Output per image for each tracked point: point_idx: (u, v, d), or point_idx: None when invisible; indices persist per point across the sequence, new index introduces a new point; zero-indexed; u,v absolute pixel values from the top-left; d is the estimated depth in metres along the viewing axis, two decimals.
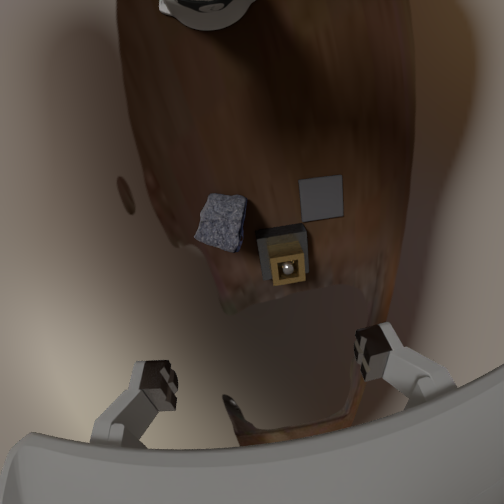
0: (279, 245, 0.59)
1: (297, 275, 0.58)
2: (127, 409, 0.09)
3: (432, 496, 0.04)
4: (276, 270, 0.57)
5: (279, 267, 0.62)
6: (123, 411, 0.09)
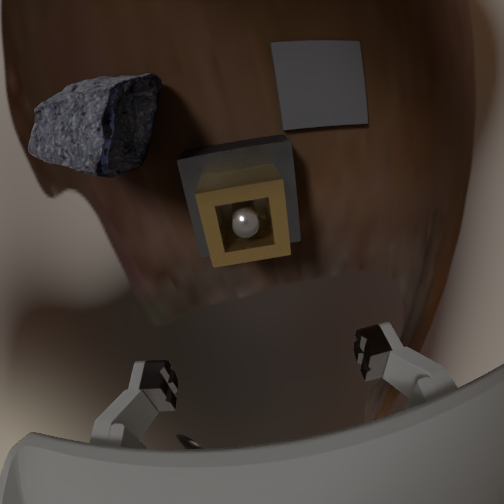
0: (228, 172, 0.25)
1: (270, 241, 0.24)
2: (127, 409, 0.09)
3: (432, 496, 0.04)
4: (215, 226, 0.22)
5: (232, 227, 0.27)
6: (123, 411, 0.09)
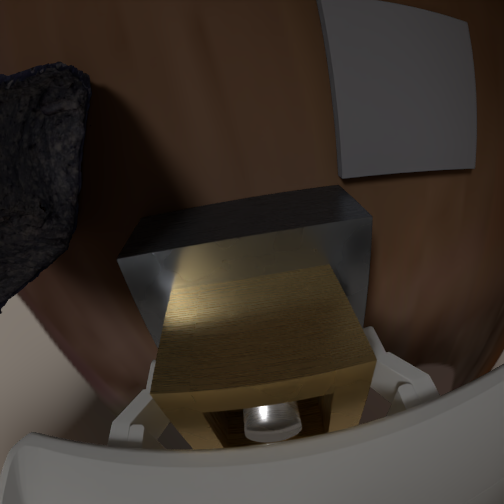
0: (230, 291, 0.11)
1: (318, 432, 0.10)
2: (146, 409, 0.09)
3: (432, 496, 0.04)
4: (206, 434, 0.09)
5: None
6: (142, 411, 0.09)
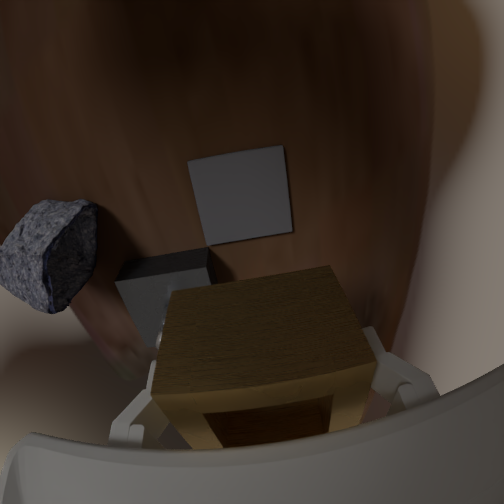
0: (230, 292, 0.11)
1: (318, 432, 0.10)
2: (146, 409, 0.09)
3: (432, 496, 0.04)
4: (206, 434, 0.09)
5: None
6: (142, 411, 0.09)
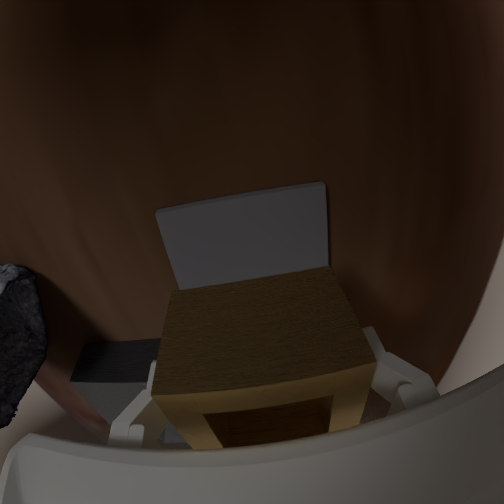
0: (230, 293, 0.11)
1: (318, 432, 0.10)
2: (146, 409, 0.09)
3: (432, 496, 0.04)
4: (206, 435, 0.09)
5: None
6: (142, 411, 0.09)
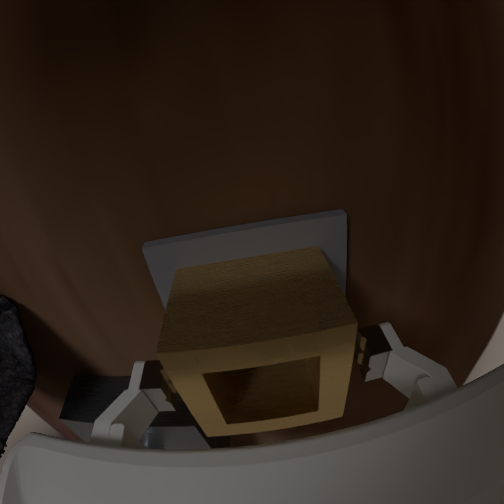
0: (228, 269, 0.12)
1: (310, 402, 0.12)
2: (127, 409, 0.09)
3: (432, 496, 0.04)
4: (205, 398, 0.10)
5: None
6: (123, 411, 0.09)
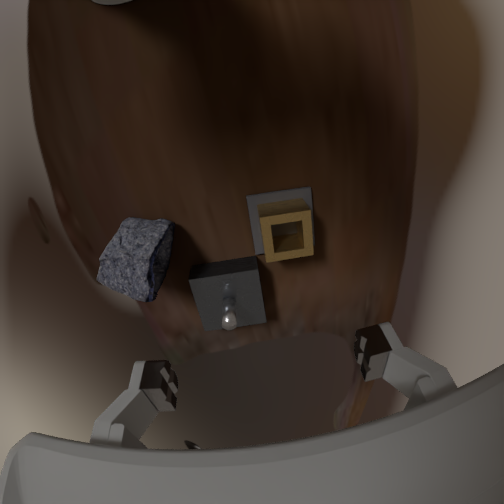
0: (274, 203, 0.40)
1: (301, 246, 0.39)
2: (127, 409, 0.09)
3: (432, 496, 0.04)
4: (269, 237, 0.38)
5: (275, 238, 0.43)
6: (123, 411, 0.09)
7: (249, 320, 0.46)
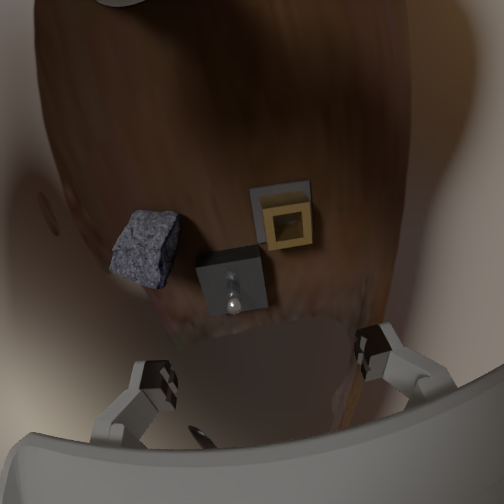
0: (275, 195, 0.43)
1: (301, 236, 0.42)
2: (127, 409, 0.09)
3: (432, 496, 0.04)
4: (271, 227, 0.41)
5: (276, 227, 0.46)
6: (123, 411, 0.09)
7: (252, 305, 0.49)
